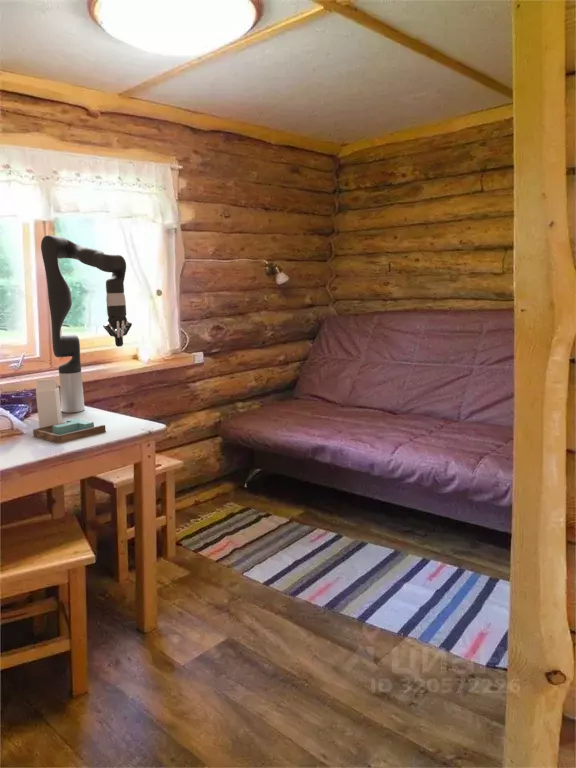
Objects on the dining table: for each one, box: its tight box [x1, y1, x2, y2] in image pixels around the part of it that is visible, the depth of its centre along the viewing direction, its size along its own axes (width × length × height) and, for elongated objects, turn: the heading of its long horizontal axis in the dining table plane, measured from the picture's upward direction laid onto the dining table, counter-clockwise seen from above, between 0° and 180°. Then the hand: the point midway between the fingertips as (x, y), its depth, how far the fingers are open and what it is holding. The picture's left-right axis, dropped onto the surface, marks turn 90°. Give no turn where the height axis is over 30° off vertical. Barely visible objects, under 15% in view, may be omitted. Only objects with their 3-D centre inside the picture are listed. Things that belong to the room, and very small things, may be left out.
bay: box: [32, 421, 107, 444], centre depth 224 cm, size 17×19×2 cm
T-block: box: [53, 417, 95, 435], centre depth 224 cm, size 12×12×4 cm
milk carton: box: [35, 378, 63, 428], centre depth 234 cm, size 7×7×19 cm
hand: (119, 346), depth 250 cm, fingers closed
